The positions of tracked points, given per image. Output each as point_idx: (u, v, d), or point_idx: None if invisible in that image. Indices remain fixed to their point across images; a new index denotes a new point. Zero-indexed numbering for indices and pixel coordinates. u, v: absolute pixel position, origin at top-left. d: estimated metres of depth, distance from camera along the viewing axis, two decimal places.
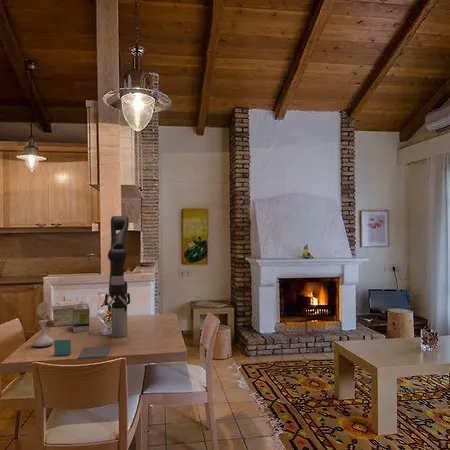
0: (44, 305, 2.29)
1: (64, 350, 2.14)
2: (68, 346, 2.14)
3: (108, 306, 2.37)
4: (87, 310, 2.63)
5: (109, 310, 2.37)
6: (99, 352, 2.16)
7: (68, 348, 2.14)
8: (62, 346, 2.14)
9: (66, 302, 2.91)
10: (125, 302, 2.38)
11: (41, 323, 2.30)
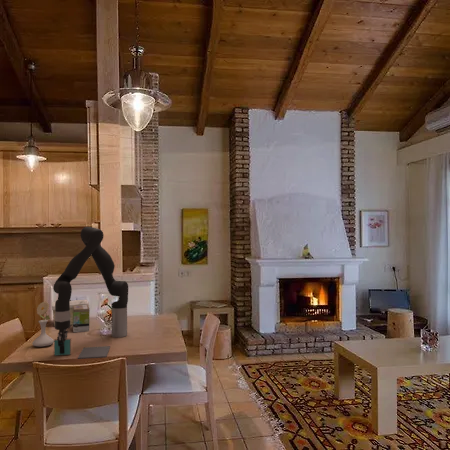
0: (44, 305, 2.29)
1: (64, 350, 2.14)
2: (68, 346, 2.14)
3: (63, 347, 2.13)
4: (87, 310, 2.63)
5: None
6: (99, 352, 2.16)
7: (68, 348, 2.14)
8: None
9: None
10: None
11: (41, 323, 2.30)
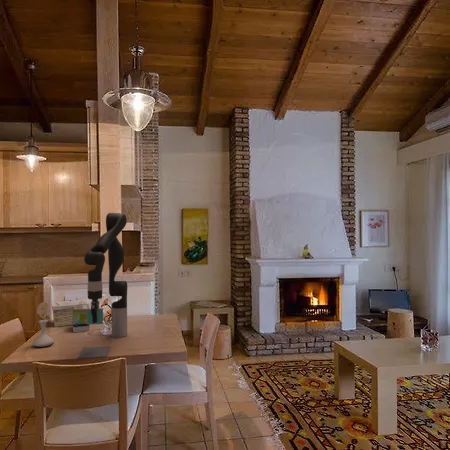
0: (44, 305, 2.29)
1: (97, 319, 2.19)
2: (100, 315, 2.19)
3: (95, 316, 2.17)
4: None
5: (96, 320, 2.18)
6: (99, 352, 2.16)
7: (100, 317, 2.19)
8: None
9: (65, 302, 2.90)
10: None
11: (41, 323, 2.30)
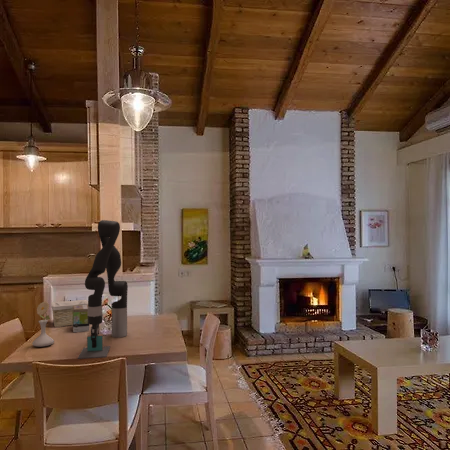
0: (44, 305, 2.29)
1: (97, 346, 2.19)
2: (100, 342, 2.19)
3: (95, 341, 2.15)
4: (87, 310, 2.63)
5: (96, 345, 2.16)
6: (99, 352, 2.16)
7: (101, 344, 2.19)
8: None
9: (65, 303, 2.89)
10: (98, 333, 2.24)
11: (41, 323, 2.30)
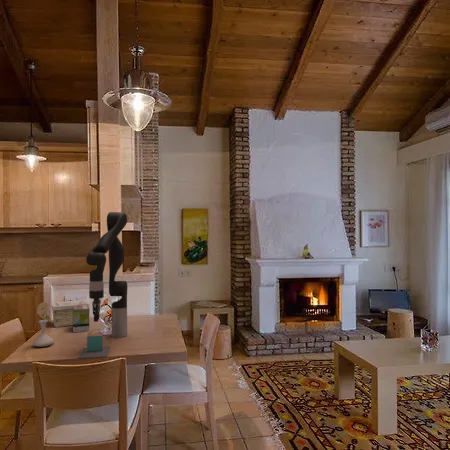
0: (44, 305, 2.29)
1: (97, 346, 2.19)
2: (100, 342, 2.19)
3: (97, 315, 2.22)
4: (87, 310, 2.63)
5: (97, 319, 2.23)
6: (99, 352, 2.16)
7: (101, 344, 2.19)
8: (95, 342, 2.18)
9: (65, 303, 2.89)
10: (99, 309, 2.29)
11: (41, 323, 2.30)
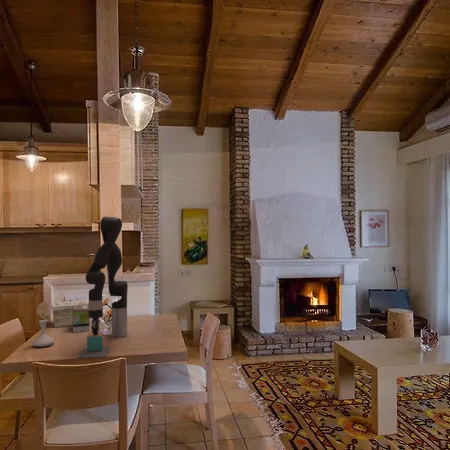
0: (44, 305, 2.29)
1: (97, 346, 2.18)
2: (100, 342, 2.18)
3: (96, 334, 2.22)
4: (87, 310, 2.63)
5: None
6: (99, 352, 2.16)
7: (100, 344, 2.18)
8: (95, 342, 2.18)
9: (65, 303, 2.88)
10: (98, 330, 2.24)
11: (41, 323, 2.30)
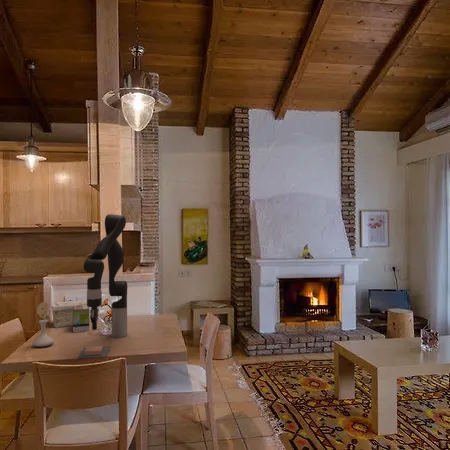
0: (44, 305, 2.29)
1: None
2: None
3: (95, 323, 2.18)
4: (87, 310, 2.63)
5: (96, 327, 2.19)
6: None
7: None
8: None
9: (65, 303, 2.88)
10: (97, 319, 2.21)
11: (41, 323, 2.30)
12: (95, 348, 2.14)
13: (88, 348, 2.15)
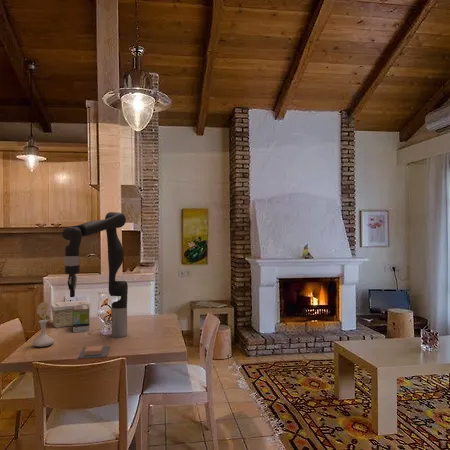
0: (44, 305, 2.29)
1: None
2: None
3: (73, 290, 2.20)
4: (87, 310, 2.63)
5: (74, 294, 2.20)
6: None
7: None
8: None
9: (65, 303, 2.87)
10: (75, 286, 2.22)
11: (41, 323, 2.30)
12: (95, 348, 2.14)
13: (88, 348, 2.15)
